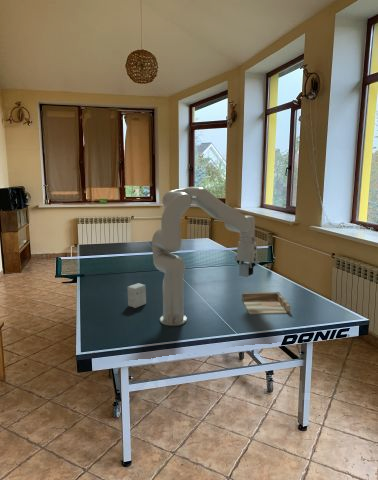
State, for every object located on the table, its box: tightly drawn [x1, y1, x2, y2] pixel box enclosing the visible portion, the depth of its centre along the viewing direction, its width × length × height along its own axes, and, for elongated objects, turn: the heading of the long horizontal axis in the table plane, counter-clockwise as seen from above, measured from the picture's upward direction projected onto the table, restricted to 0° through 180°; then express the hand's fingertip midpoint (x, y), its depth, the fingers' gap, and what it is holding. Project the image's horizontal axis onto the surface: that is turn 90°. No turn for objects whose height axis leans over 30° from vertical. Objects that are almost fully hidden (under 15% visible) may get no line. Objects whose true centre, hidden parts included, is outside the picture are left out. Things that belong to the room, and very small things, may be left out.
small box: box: [126, 282, 147, 309], centre depth 196 cm, size 8×6×10 cm
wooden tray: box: [241, 291, 291, 315], centre depth 193 cm, size 20×20×4 cm
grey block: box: [238, 261, 251, 278], centre depth 196 cm, size 7×4×6 cm, turn 142°
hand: (246, 273), depth 197 cm, fingers closed on grey block, 4 cm apart
